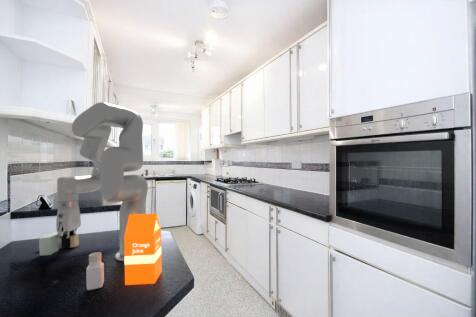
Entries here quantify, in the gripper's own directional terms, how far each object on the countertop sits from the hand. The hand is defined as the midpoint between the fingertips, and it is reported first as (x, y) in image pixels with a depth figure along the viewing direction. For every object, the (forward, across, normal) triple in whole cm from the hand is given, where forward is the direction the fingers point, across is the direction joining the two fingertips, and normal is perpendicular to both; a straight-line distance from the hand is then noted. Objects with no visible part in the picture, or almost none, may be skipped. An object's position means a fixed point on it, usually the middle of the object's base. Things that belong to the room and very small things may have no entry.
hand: (68, 245), depth 101 cm
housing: (+1, 0, +4) cm, 4 cm away
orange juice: (+1, -34, -42) cm, 54 cm away
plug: (+1, 0, +4) cm, 4 cm away
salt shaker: (+1, -37, -29) cm, 47 cm away
